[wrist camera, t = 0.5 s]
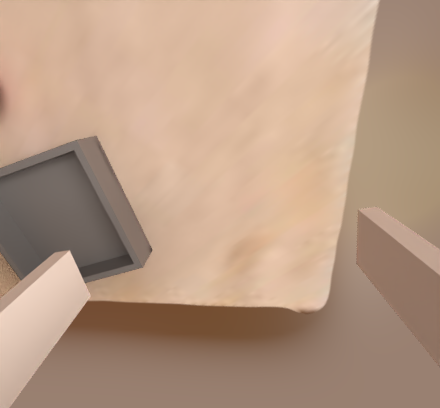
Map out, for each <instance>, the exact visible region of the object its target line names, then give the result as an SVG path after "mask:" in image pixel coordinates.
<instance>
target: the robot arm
mask: <svg viewBox="0 0 440 408" xmlns="http://www.w3.org/2000/svg"><path fill="white" fill-rule="evenodd" d="M357 223H358V224H357V261H356V264H357V265H358V266H359V267H360V269H361V270H362V271H363V273H365V275H366V276H367V277H368V279H369V280H370V281H371V282H372V284H373V285H374V286H375V287H376V289H377V290H378V291H379V292H380V294H381V295H382V296H383V297H384V299H385V300H386V301H387V302H388V304H389V305H390V306H391V307H392V309H393V310H394V311H395V312H396V313H397V314H398V316H399V317H400V319H401V320H402V321H403V322H404V323H405V325H406V326H407V327H408V328H409V330H410V331H411V332H412V333H413V335H414V336H415V337H416V338H417V340H418V341H419V342H420V343H421V344H422V346H423V347H424V348H425V350H426V351H427V352H428V353H429V355H430V356H431V357H432V358H433V360H434V361H435V362H436V363H437V365H438V366H439V367H440V249H438V248H437V247H435V246H434V245H432V244H431V243H429V242H428V241H426V240H425V239H423V238H422V237H420V236H419V235H418V234H416V233H415V232H413V231H412V230H410V229H409V228H407V227H406V226H405V225H403V224H402V223H400V222H399V221H397V220H396V219H394V218H393V217H391V216H390V215H388V214H387V213H386V212H384V211H383V210H381V209H380V208H378V207H370V208H363V209H358V222H357ZM89 298H90V293H89V291H88V289H87V287H86V285H85V282H84V280H83V278H82V276H81V274H80V272H79V269H78V267H77V265H76V263H75V261H74V259H73V256H72V254H71V252H70V250H68V251H61V252H55V253H53V254H52V255H51V256H50V257H49V258H48V259H46V260H45V261H44V262H43V263H42V264H40V265H39V266H38V267H37V268H36V269H34V270H33V271H32V272H31V273H30V274H28V275H27V276H26V277H25V278H24V279H22V280H21V281H20V282H19V283H18V284H17V285H15V286H14V287H13V288H12V289H11V290H9V291H8V292H7V293H6V294H5V295H3V296H2V297H1V298H0V408H9V407H10V406H11V405H12V403H13V402H14V400H15V399H16V398H17V396H18V395H19V394H20V392H21V391H22V390H23V388H24V387H25V385H26V384H27V383H28V381H29V380H30V378H31V377H32V376H33V374H34V373H35V372H36V370H37V369H38V368H39V366H40V365H41V363H42V362H43V361H44V359H45V358H46V357H47V355H48V354H49V352H50V351H51V350H52V348H53V347H54V346H55V344H56V343H57V342H58V340H59V339H60V337H61V336H62V335H63V333H64V332H65V331H66V329H67V328H68V327H69V325H70V324H71V322H72V321H73V320H74V318H75V317H76V316H77V314H78V313H79V311H80V310H81V309H82V307H83V306H84V305H85V303H86V302H87V301H88V299H89Z"/></svg>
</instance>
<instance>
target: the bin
mask: <svg viewBox="0 0 440 408" xmlns="http://www.w3.org/2000/svg"><path fill="white" fill-rule="evenodd" d="M68 250H70V252H71V254H72V256H73V259H74V261H75V263H76V265H77V267H78V269H79V272H80V274H81V276H82V278H83V280H84V282H85V283H87V282H91V281H95V280H98V279H102V278H106V277H110V276H113V275H117V274H121V273H124V272H128V271H132V270H135V269H139V268H143V266H144V264H145V263H146V261H147V259H148V257H149V255H150V254H151V252H152V248H151V246H150V244H149V242H148V240H147V238H146V236H145V234H144V232H143V230H142V228H141V226H140V224H139V222H138V220H137V218H136V216H135V213H134V211H133V209H132V207H131V205H130V203H129V201H128V199H127V197H126V195H125V193H124V191H123V189H122V187H121V185H120V183H119V181H118V179H117V177H116V175H115V173H114V171H113V169H112V166H111V164H110V162H109V160H108V158H107V156H106V154H105V152H104V150H103V148H102V146H101V144H100V142H99V140H98V138H97V136H94V137H89V138H84V139H79V140H75V141H73V142H70V143H67V144H65V145H62V146H59V147H57V148H54V149H51V150H48V151H46V152H43V153H40V154H38V155H35V156H32V157H30V158H27V159H24V160H21V161H19V162H16V163H13V164H11V165H8V166H5V167H3V168H0V252H1V254H2V255H3V256H4V258H5V259H6V261H7V262H8V263H9V265H10V266H11V267H12V269H13V270H14V271H15V273H16V274H17V275H18V277H19V278H20V280H22V279H24V278H25V277H26V276H27V275H28V274H30V273H31V272H32V271H33V270H34V269H36V268H37V267H38V266H39V265H40V264H42V263H43V262H44V261H45V260H46V259H48V258H49V257H50V256H51V255H52V254H53V253H55V252H61V251H68Z"/></svg>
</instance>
